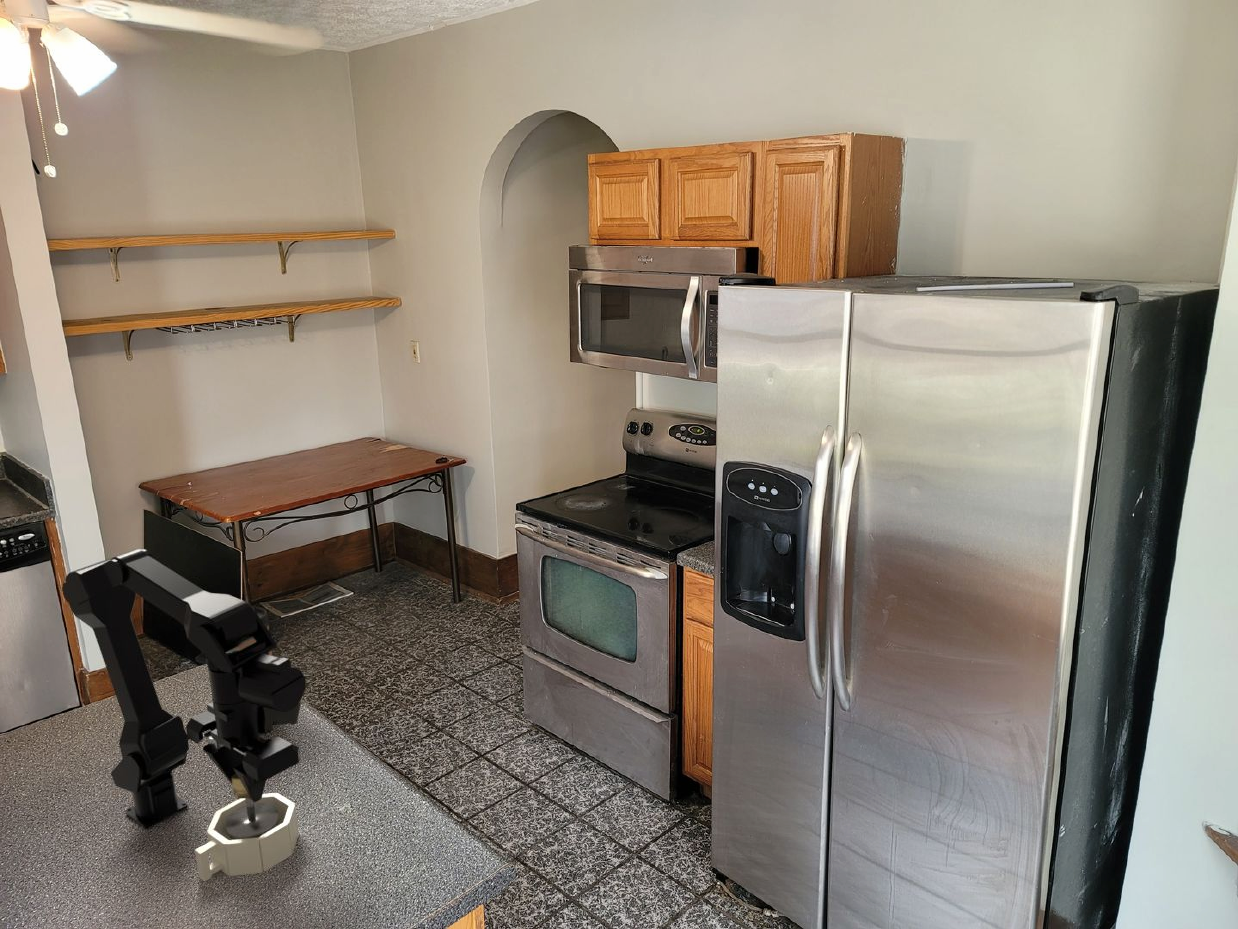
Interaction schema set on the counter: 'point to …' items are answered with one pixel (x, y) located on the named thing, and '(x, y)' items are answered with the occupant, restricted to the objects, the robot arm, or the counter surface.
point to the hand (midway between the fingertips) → (248, 795)
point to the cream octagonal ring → (248, 842)
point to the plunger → (250, 815)
